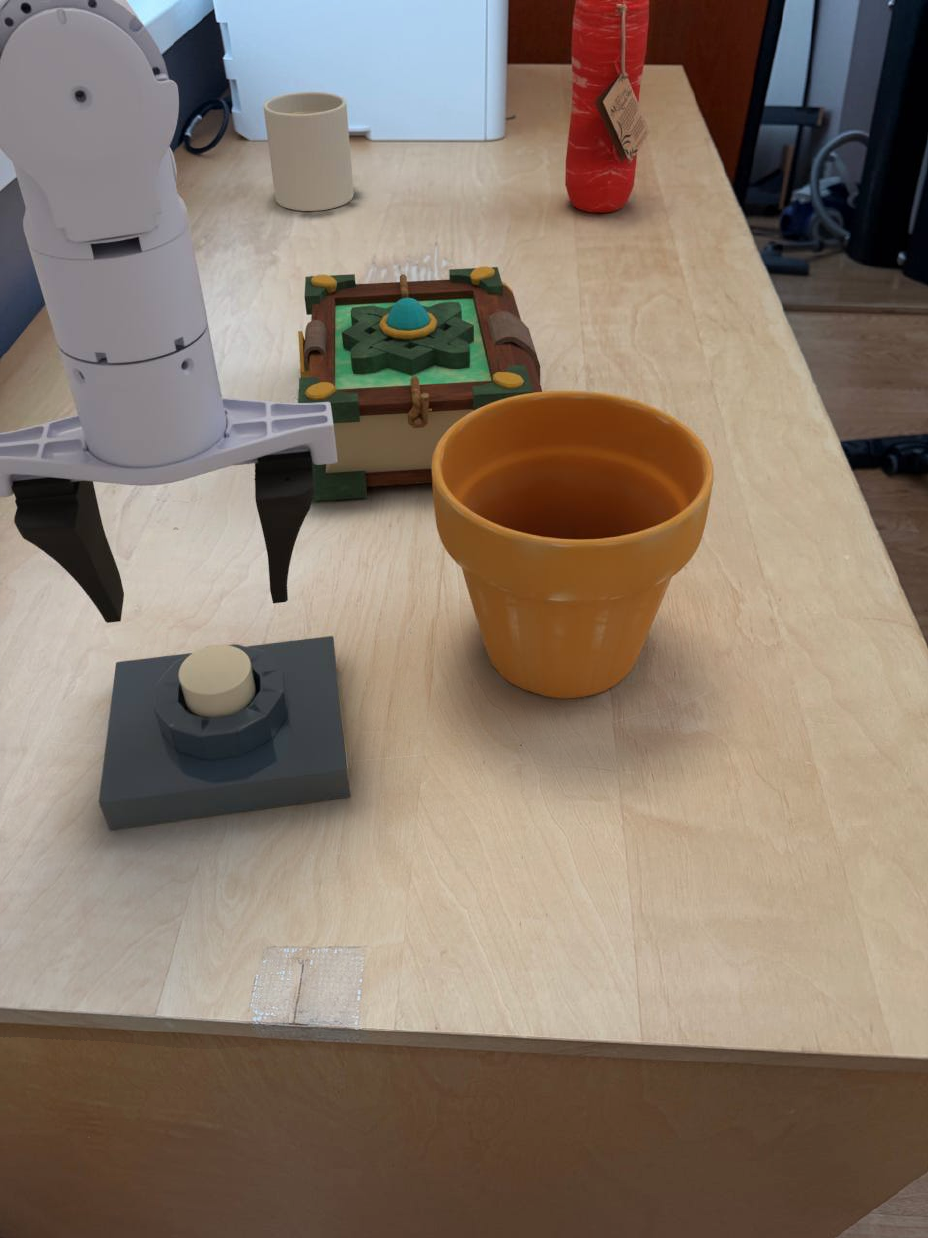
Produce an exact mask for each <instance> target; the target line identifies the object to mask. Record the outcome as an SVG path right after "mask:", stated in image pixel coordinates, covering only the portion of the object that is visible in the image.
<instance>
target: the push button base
mask: <svg viewBox="0 0 928 1238" xmlns="http://www.w3.org/2000/svg"><path fill="white" fill-rule="evenodd" d="M228 645H229V646H233V647H236V648H239V649H241V650H242V651H244V652H245V653H246V654H247V656H248V657H249V659H250V662H251V666H252V671H253V676H254V681H255V686H256V691H255V695H254V697H253V699H252V700H251V702H250V703H249V704H248V705H247V706H246V707H245V708H244V709H242V710H240V711H238V712H236V713H235V714H233V715H230V716H222V717H214V718H206V717H202V716H199V715H197V714H195V713H193V712H192V711H191V710H190V709H189V708H188V707H187V705H186V703H185V699H184V695H183V692H182V688H181V684H180V681H179V669H180V667H181V665H182V663H183V662H184V660H185V659H186V658H187V657H188V656H190V655H191V654H192V653H193V652H190V653H180V654H179V653H178V654H171V655H164V656H156V657H147V658H146V657H145V658H140V659H139V658H138V659H130V660H122V661H116V662H115V668H114V676H113V684H112V690H111V691H112V692H111V700H110V701H111V702H110V707H109V714H108V723H107V725H108V726H107V730H106V731H107V733H106V741H105V746H104V747H105V748H104V756H103V762H102V764H103V765H102V772H101V780H100V788H99V789H100V790H99V796H98V804H99V805H98V806H99V807H100V810H101V812H102V815H103V817H104V820H105V823H106V826H107V828H108V830H109V831H114V830H121V829H127V828H128V829H129V828H136V827H141V826H142V827H143V826H151V825H157V824H165V823H172V822H178V821H186V820H192V819H200V818H207V817H214V816H221V815H228V814H235V813H242V812H243V813H244V812H249V811H250V812H251V811H259V810H264V809H272V808H280V807H287V806H292V805H294V806H295V805H301V804H307V803H315V802H316V803H317V802H321V801H329V800H336V799H343V798H350V797H351V796H352V790H351V782H350V781H351V780H350V772H349V771H350V770H349V763H348V762H349V761H348V753H347V744H346V733H345V726H344V725H345V724H344V717H343V707H342V699H341V697H342V696H341V688H340V679H339V671H338V662H337V653H336V647H335V638H334V636H333V635H328V636H321V637H311V638H304V639H295V640H286V641H279V642H273V643H272V642H271V643H263V644H255V645H247V646H246V645H241V644H235V643H234V644H228Z"/></svg>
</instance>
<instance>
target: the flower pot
mask: <svg viewBox="0 0 928 1238" xmlns="http://www.w3.org/2000/svg"><path fill="white" fill-rule="evenodd" d="M431 468H432V482H431V483H432V497H433V498H432V499H433V508H434V517H435V525H436V529H437V533H438V535H439V536H438V537H439V540H440V541H441V543H442V545H443V547H444V549H445V550H446V552H447V554H448V555H449V556H450V558H452V559H453V561H454V562H455V563H456V564H457V565H458V566H459V567H460V568H461V570H462V573H463V578H464V581H465V585H466V589H467V592H468V595H469V598H470V601H471V605H472V608H473V612H474V615H475V618H476V621H477V624H478V627H479V630H480V634H481V637H482V640H483V644H484V646H485V647H484V648H485V649H486V652H487V655H488V658H489V660H490V662H491V664H492V666H493V667H494V668H495V670H496V671H497V672H498V673H499V674H500V675H501V676H502V677H503V678H504V679H505V680H506V681H508V682H509V683H511V684H512V685H514V686H516V687H517V688H520V689H522V690H524V691H527V692H531V693H534V694H538V695H540V696H543V697H547V698H556V699H577V698H584V697H589V696H593V695H597V694H600V693H603V692H605V691H607V690H610V689H611V688H612V687H614V686H616V685H618V684H619V683H620V682H622V681H623V680H624V679H625V678H626V677H627V676H628V675H629V673H631V671H632V670H633V668H634V666H635V664H636V663H637V661H638V658H639V656H640V654H641V651H642V649H643V647H644V644H645V642H646V640H647V637H648V635H649V633H650V631H651V628H652V626H653V624H654V621H655V619H656V616H657V614H658V612H659V609H660V606H661V605H662V602H663V600H664V598H665V595H666V593H667V590H668V587H669V586H670V582H671V580H672V577H674V576H675V575H677V574H678V573H679V572H680V571H681V570H682V569H683V568H685V567H686V565H687V564H689V562H690V561H691V560H692V558H693V557H694V555H695V554H696V552H697V551H698V549H699V546H700V544H701V542H702V539H703V536H704V531H705V528H706V523H707V519H708V515H709V510H710V509H709V508H710V503H711V498H712V492H713V487H714V479H715V478H714V477H715V475H714V474H715V473H714V472H715V471H714V464H713V460H712V457H711V455H710V452H709V450H708V448H707V447H706V444H705V443H704V442H703V441H702V439H701V438H700V437H699V436H698V435H697V434H696V432H694V431H693V430H692V429H691V428H690V427H688V426H687V425H686V424H685V423H683V422H682V421H680V420H679V419H677V418H675V417H674V416H672V415H671V414H669V413H667V412H665V411H663V410H661V409H658V408H656V407H654V406H651V405H649V404H647V403H644V402H641V401H638V400H636V399H631V398H627V397H625V396H620V395H618V394H617V395H616V394H612V393H611V394H610V393H605V392H597V391H587V390H547V391H543V392H536V393H529V394H523V395H517V396H513V397H509V398H505V399H502V400H499V401H496V402H493V403H490V404H488V405H485V406H483V407H481V408H478V409H476V410H474V411H473V412H471V413H469V414H467V415H466V416H464V417H463V418H461V419H460V420H459V421H457V422H456V423H455V424H454V425H452V426H451V427H450V428H449V429H448V430H447V431H446V432H445V434H444V435H443V436H442V437H441V439H440V440H439V442H438V444H437V446H436V448H435V450H434V453H433V457H432V465H431Z"/></svg>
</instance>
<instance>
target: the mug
mask: <svg viewBox="0 0 928 1238" xmlns="http://www.w3.org/2000/svg"><path fill="white" fill-rule="evenodd" d="M263 114H264V122H265V130H266V137H267V144H268V152H269V160H270V167H271V173H272V174H271V175H272V182H273V191H274V198H275V201H276V203H277V204H278V205H279V206H281V207H282V208H285V209H289V210H294V211H301V212H316V211H317V212H318V211H327V210H333V209H335V208H339V207H341V206H344V205H346V204H348V203H349V202H351V201H352V200H353V198H354V195H355V192H354V182H353V179H354V178H353V171H352V170H353V168H352V157H351V145H350V132H349V121H348V108H347V101H346V99H345V98H344V97H343V96H341V95H338V94H335V93H331V92H323V91H298V92H289V93H284V94H280V95H277V96H273V97H272V98H270V99H267V100H266V101H265V102H264V103H263Z"/></svg>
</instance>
